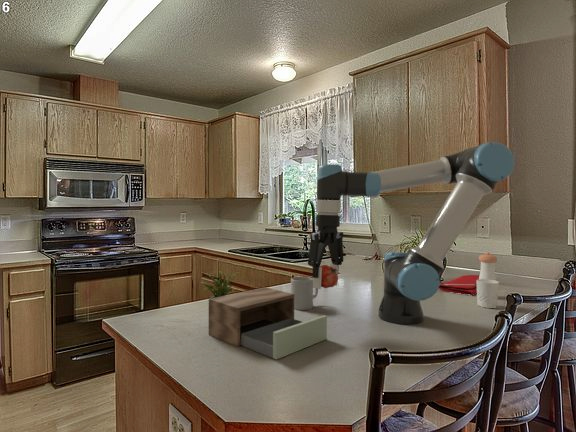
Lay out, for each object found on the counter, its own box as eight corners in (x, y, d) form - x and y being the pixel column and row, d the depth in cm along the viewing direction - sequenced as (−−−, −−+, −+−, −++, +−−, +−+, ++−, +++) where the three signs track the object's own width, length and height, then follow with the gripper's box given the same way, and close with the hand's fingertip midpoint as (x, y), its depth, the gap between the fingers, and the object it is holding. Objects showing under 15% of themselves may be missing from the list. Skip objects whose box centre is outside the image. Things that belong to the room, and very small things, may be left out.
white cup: (500, 306, 151) (501, 281, 151) (495, 310, 145) (495, 284, 145) (479, 302, 156) (480, 278, 156) (472, 306, 151) (473, 281, 150)
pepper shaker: (492, 299, 161) (493, 254, 161) (474, 296, 167) (475, 252, 166) (499, 296, 166) (500, 252, 166) (481, 293, 172) (482, 251, 171)
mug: (299, 311, 141) (300, 282, 141) (286, 306, 148) (286, 278, 148) (324, 306, 149) (324, 278, 148) (310, 301, 155) (310, 274, 155)
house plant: (227, 306, 147) (227, 264, 146) (250, 314, 137) (250, 269, 137) (194, 314, 137) (194, 268, 136) (216, 323, 127) (216, 274, 127)
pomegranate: (310, 294, 121) (327, 279, 114) (305, 273, 125) (321, 258, 118) (329, 294, 125) (347, 280, 118) (323, 274, 129) (340, 259, 122)
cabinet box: (294, 327, 123) (294, 294, 123) (237, 346, 107) (238, 308, 106) (264, 318, 133) (264, 287, 132) (208, 334, 116) (208, 299, 116)
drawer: (326, 338, 113) (326, 316, 113) (276, 359, 98) (276, 333, 97) (290, 327, 123) (290, 306, 123) (239, 344, 108) (239, 320, 108)
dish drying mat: (496, 283, 198) (496, 275, 198) (473, 297, 167) (473, 288, 167) (463, 278, 208) (464, 272, 208) (436, 291, 177) (437, 283, 177)
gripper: (338, 213, 131) (335, 280, 131) (297, 213, 116) (294, 288, 117) (356, 214, 125) (353, 284, 126) (315, 214, 111) (312, 293, 112)
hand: (325, 286), depth 122 cm, fingers closed on pomegranate, 7 cm apart
